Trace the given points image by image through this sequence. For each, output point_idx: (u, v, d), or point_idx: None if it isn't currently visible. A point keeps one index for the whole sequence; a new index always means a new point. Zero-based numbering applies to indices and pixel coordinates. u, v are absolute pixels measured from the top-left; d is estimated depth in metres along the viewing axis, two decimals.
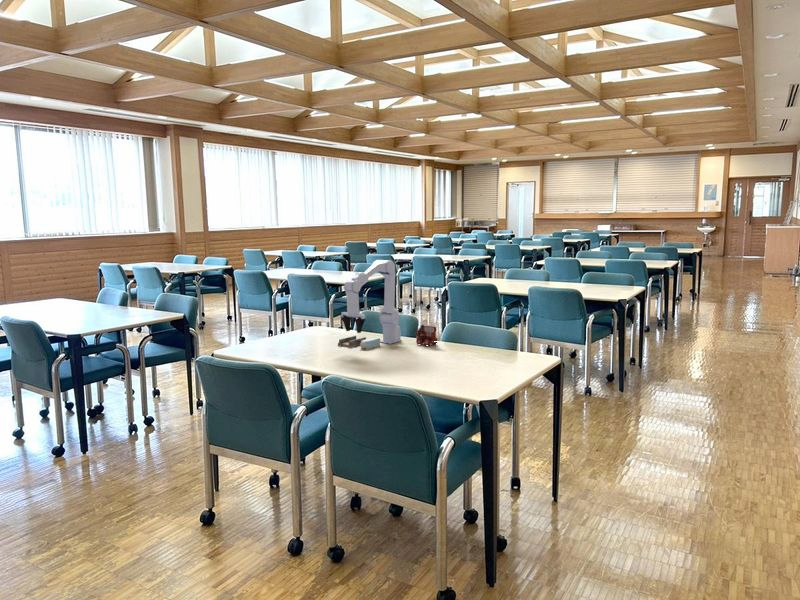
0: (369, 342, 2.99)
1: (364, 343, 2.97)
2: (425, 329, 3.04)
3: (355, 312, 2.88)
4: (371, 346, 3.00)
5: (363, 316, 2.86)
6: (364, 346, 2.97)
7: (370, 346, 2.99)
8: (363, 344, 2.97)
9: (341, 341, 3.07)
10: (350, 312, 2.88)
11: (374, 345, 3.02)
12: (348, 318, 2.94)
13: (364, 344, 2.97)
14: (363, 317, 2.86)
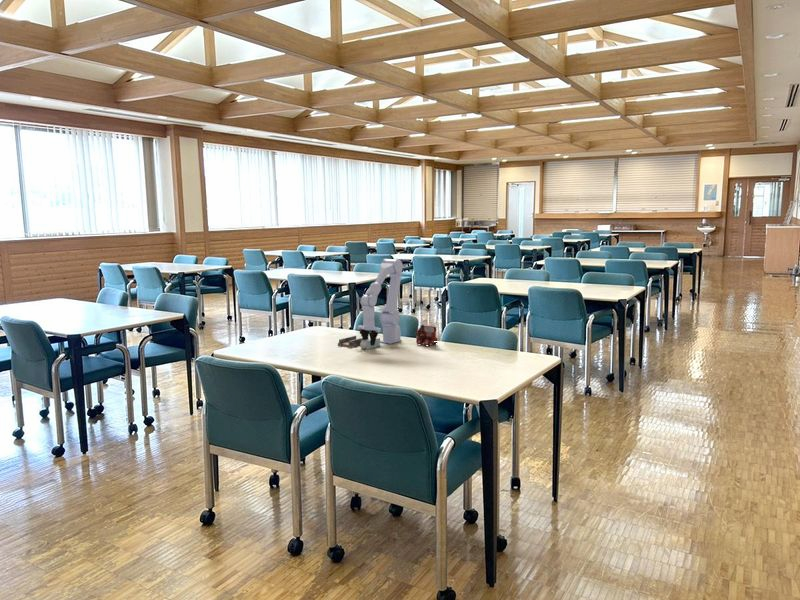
0: (369, 342, 2.99)
1: (364, 343, 2.97)
2: (425, 329, 3.04)
3: (371, 326, 2.98)
4: (371, 346, 3.00)
5: (379, 330, 2.96)
6: (364, 346, 2.97)
7: (370, 346, 2.99)
8: (363, 344, 2.97)
9: (341, 341, 3.07)
10: (366, 326, 2.98)
11: (374, 345, 3.02)
12: (366, 332, 3.03)
13: (364, 344, 2.97)
14: (379, 331, 2.96)
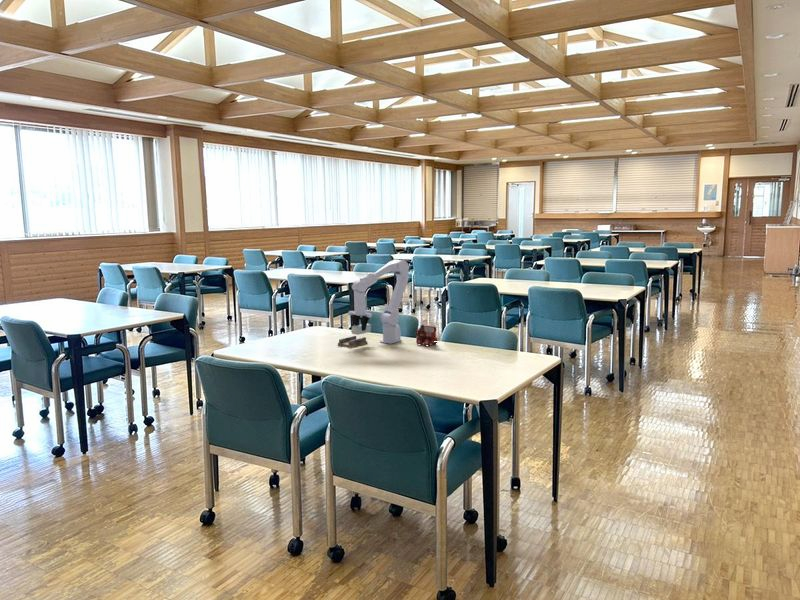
0: (360, 328, 3.01)
1: (355, 328, 3.00)
2: (425, 329, 3.04)
3: (362, 311, 3.01)
4: (362, 332, 3.03)
5: (370, 315, 2.99)
6: (355, 331, 3.00)
7: (361, 331, 3.02)
8: (354, 329, 2.99)
9: (341, 341, 3.07)
10: (357, 311, 3.01)
11: (365, 331, 3.05)
12: (357, 317, 3.05)
13: (355, 329, 2.99)
14: (370, 316, 2.99)
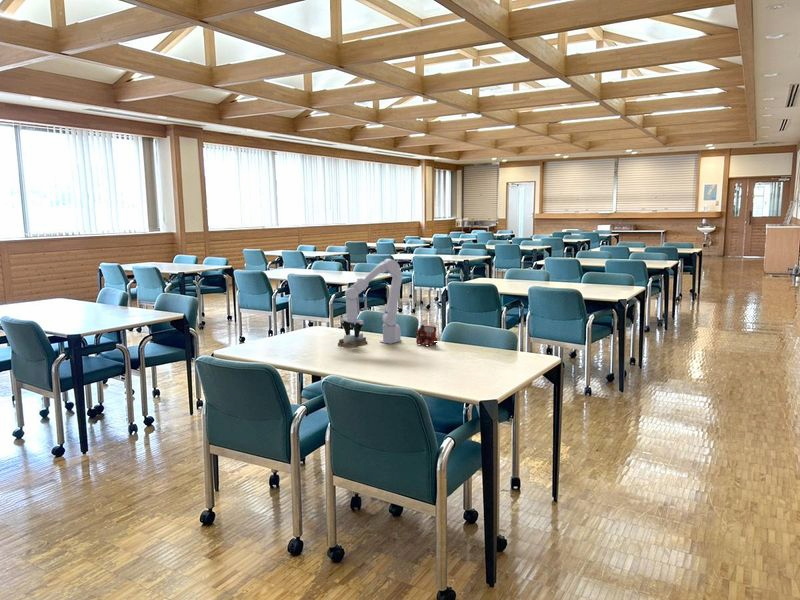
0: (352, 337, 3.06)
1: (347, 338, 3.04)
2: (425, 329, 3.04)
3: (354, 318, 3.05)
4: None
5: (361, 322, 3.03)
6: (347, 341, 3.04)
7: None
8: (346, 339, 3.04)
9: (341, 341, 3.07)
10: (349, 318, 3.05)
11: None
12: (348, 324, 3.10)
13: (347, 339, 3.04)
14: (361, 323, 3.03)
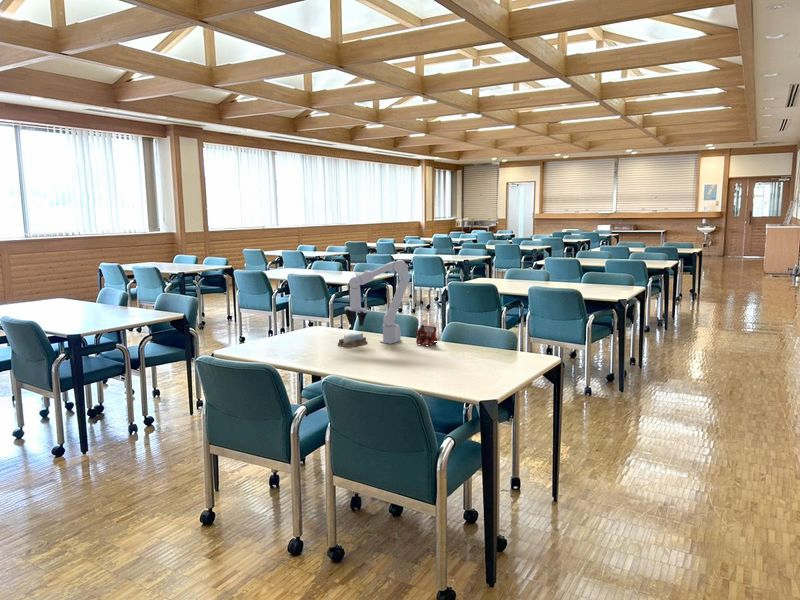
0: (352, 337, 3.06)
1: (347, 338, 3.04)
2: (425, 329, 3.04)
3: (357, 307, 3.09)
4: None
5: (365, 310, 3.07)
6: (347, 341, 3.04)
7: None
8: (346, 339, 3.04)
9: (341, 341, 3.07)
10: (353, 306, 3.09)
11: None
12: (351, 312, 3.15)
13: (347, 339, 3.04)
14: (365, 311, 3.07)
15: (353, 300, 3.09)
